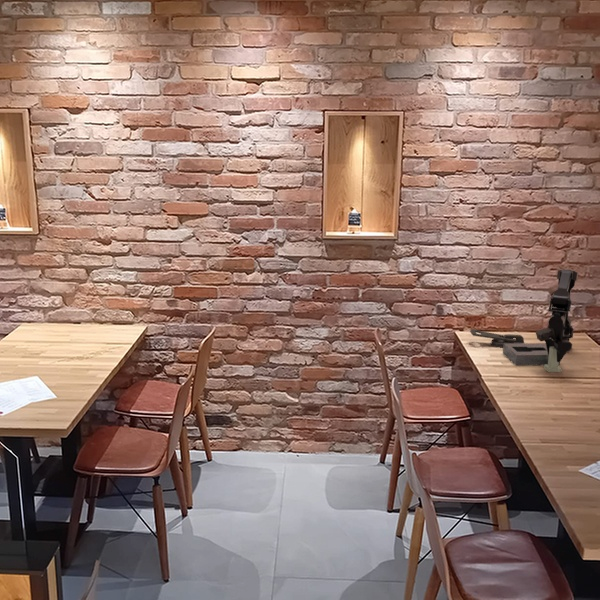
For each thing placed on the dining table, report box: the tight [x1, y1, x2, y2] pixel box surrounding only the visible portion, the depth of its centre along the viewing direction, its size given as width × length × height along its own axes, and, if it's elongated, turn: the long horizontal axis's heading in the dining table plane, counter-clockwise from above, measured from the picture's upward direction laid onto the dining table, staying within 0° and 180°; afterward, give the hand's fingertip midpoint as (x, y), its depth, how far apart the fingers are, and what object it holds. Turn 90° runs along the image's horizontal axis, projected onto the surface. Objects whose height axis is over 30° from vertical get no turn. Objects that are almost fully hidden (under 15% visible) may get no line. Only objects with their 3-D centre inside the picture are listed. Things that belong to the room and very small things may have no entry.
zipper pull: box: [469, 328, 525, 349], centre depth 342 cm, size 9×7×25 cm
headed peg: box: [543, 347, 562, 373], centre depth 309 cm, size 5×5×10 cm
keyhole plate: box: [502, 342, 561, 366], centre depth 323 cm, size 20×16×5 cm
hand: (553, 358), depth 309 cm, fingers open, 9 cm apart
